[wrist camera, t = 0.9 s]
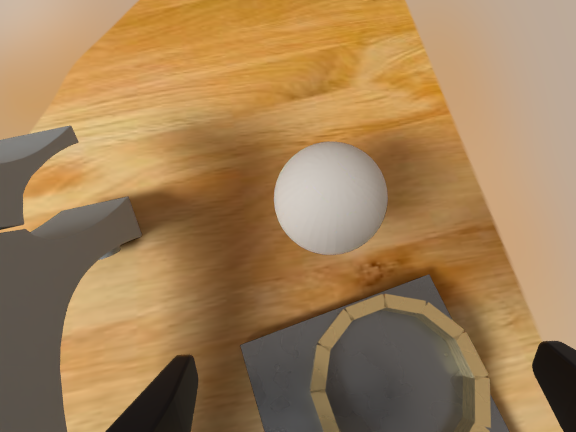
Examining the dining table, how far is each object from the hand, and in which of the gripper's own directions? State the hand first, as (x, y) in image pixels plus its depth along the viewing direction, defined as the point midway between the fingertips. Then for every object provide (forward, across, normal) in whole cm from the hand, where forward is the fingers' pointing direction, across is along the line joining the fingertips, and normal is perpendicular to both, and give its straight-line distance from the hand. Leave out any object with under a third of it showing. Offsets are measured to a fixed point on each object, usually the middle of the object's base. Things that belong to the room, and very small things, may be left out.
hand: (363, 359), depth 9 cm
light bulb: (+15, 0, +5) cm, 16 cm away
